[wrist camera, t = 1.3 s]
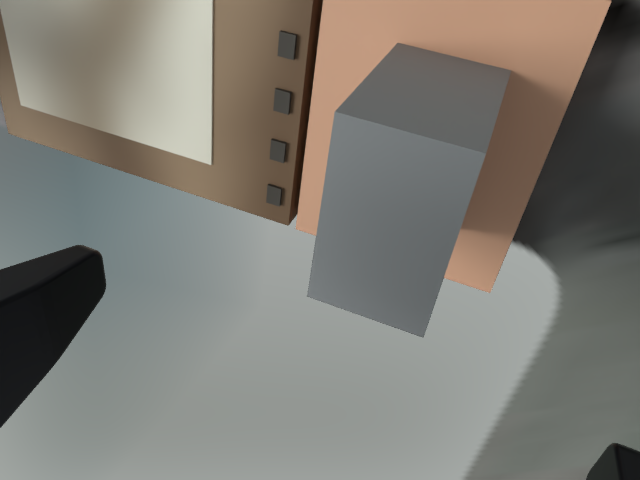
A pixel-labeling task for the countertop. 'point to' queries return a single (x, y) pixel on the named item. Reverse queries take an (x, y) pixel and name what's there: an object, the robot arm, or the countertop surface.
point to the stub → (430, 142)
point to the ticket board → (169, 90)
